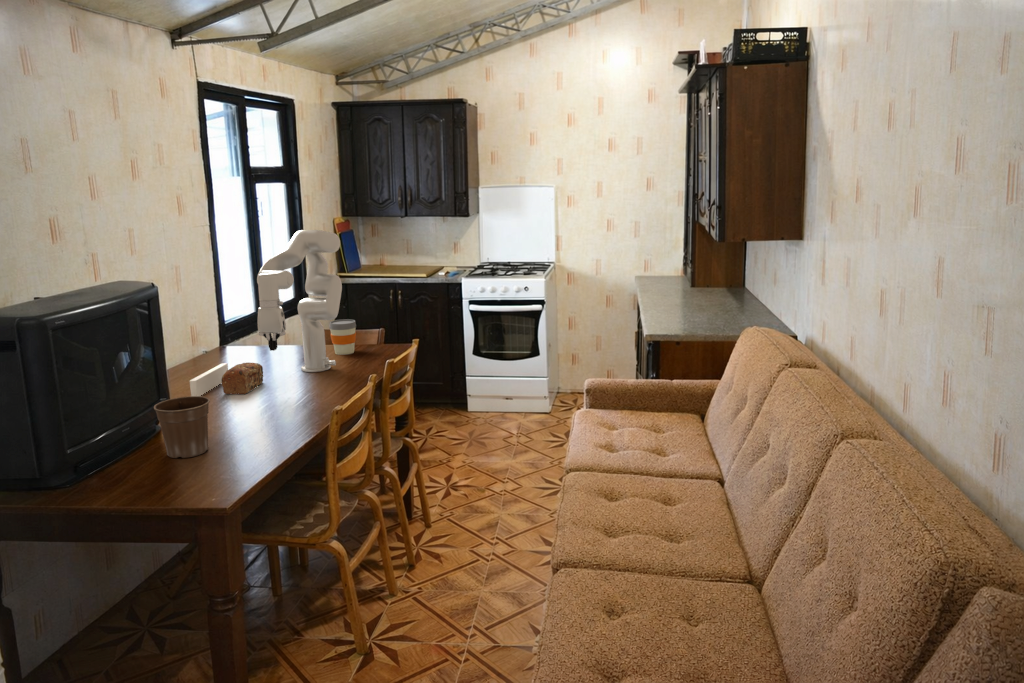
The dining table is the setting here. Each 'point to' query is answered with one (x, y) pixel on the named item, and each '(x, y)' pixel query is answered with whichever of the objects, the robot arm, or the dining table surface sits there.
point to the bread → (242, 378)
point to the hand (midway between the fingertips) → (273, 349)
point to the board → (208, 380)
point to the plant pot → (184, 425)
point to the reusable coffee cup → (343, 336)
